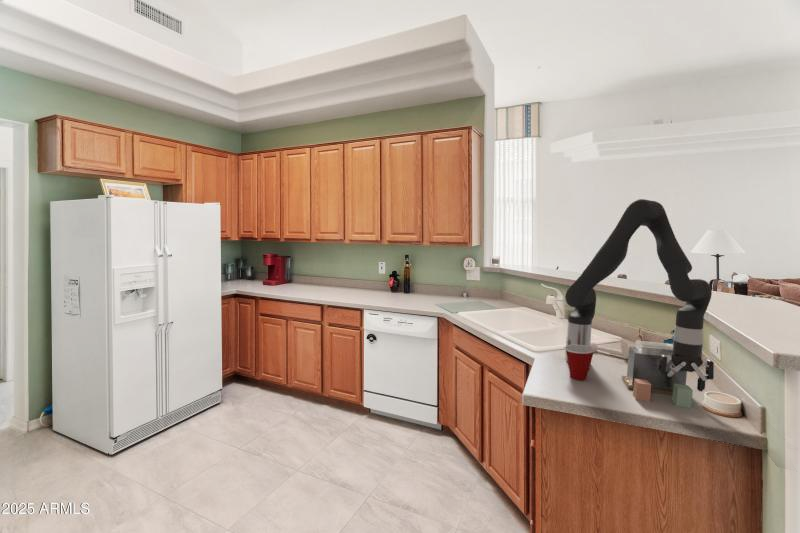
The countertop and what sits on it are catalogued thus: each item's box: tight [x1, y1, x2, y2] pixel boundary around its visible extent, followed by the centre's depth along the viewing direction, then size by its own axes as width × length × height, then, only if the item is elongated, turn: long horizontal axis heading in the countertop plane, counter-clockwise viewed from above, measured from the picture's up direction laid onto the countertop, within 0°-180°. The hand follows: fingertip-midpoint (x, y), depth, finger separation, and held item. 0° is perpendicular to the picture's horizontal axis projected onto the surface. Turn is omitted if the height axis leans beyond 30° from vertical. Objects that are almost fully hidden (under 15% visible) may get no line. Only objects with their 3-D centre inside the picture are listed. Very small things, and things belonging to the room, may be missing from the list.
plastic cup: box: [563, 345, 596, 381], centre depth 143 cm, size 11×11×12 cm
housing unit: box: [621, 340, 688, 396], centre depth 135 cm, size 19×10×16 cm, turn 71°
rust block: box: [632, 379, 652, 403], centre depth 126 cm, size 4×4×6 cm
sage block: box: [671, 384, 693, 408], centre depth 123 cm, size 4×4×6 cm
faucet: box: [590, 336, 630, 360], centre depth 172 cm, size 4×18×10 cm, turn 43°
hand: (684, 388), depth 122 cm, fingers open, 8 cm apart
